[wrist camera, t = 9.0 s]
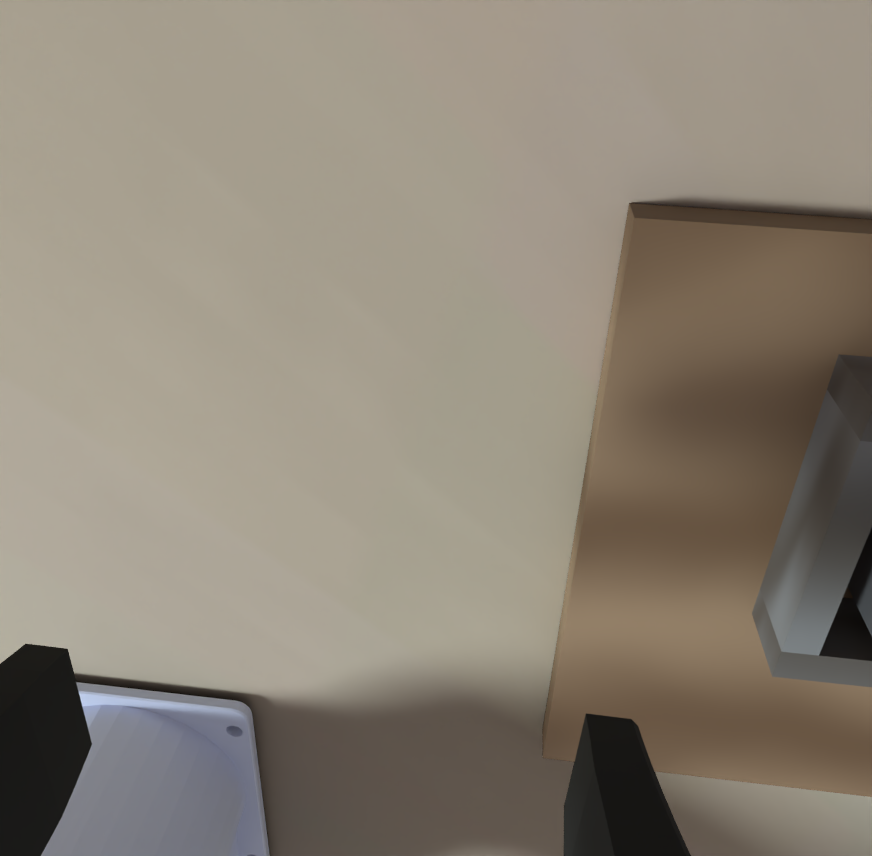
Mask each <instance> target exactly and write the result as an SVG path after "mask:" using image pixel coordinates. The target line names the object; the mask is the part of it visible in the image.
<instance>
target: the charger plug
mask: <svg viewBox="0 0 872 856" xmlns="http://www.w3.org/2000/svg"><path fill="white" fill-rule="evenodd" d="M848 589H849V591H850V593H851V595H852V597H853V599H854V601H855V603H856V605H857V607H858V609H859V611H860V613H861V615H862V617H863V620H864V622H865V624H866V626H867V628H868V630H869V632H870V634H871V636H872V528H871V530H870V533H869V535H868V537H867V540H866V542H865V545H864V547H863V550H862V552H861V554H860V557H859V559H858V562H857V564H856V567H855V569H854V571H853V574H852V576H851V579H850V581H849V584H848Z"/></svg>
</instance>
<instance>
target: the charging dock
mask: <svg viewBox="0 0 872 856" xmlns="http://www.w3.org/2000/svg"><path fill="white" fill-rule="evenodd" d="M871 528H872V219H857V218H842V217H827V216H812V215H798V214H783V213H768V212H753V211H738V210H723V209H708V208H694V207H679V206H664V205H649V204H634V203H629V208H628V214H627V220H626V226H625V232H624V238H623V244H622V250H621V256H620V262H619V268H618V274H617V281H616V287H615V293H614V299H613V305H612V311H611V317H610V323H609V329H608V335H607V341H606V347H605V353H604V359H603V365H602V372H601V378H600V384H599V390H598V396H597V402H596V408H595V414H594V420H593V426H592V432H591V438H590V444H589V450H588V456H587V463H586V469H585V475H584V481H583V487H582V493H581V499H580V505H579V511H578V517H577V523H576V529H575V535H574V541H573V547H572V554H571V560H570V566H569V572H568V578H567V584H566V590H565V596H564V602H563V608H562V614H561V620H560V626H559V632H558V638H557V645H556V651H555V657H554V663H553V669H552V675H551V681H550V687H549V693H548V699H547V705H546V711H545V717H544V723H543V758H547V759H555V760H564V761H572V762H575V758H576V753H577V749H578V745H579V741H580V736H581V732H582V728H583V723H584V719H585V715H586V713H587V714H595V715H603V716H611V717H619V718H627V719H632V720H633V721H634V722H635V723H636V724H637V725H638V727H639V730H640V733H641V736H642V739H643V742H644V745H645V747H646V750H647V753H648V756H649V758H650V761H651V764H652V766H653V769H654V771H657V772H665V773H674V774H682V775H691V776H699V777H708V778H716V779H725V780H733V781H742V782H750V783H759V784H767V785H776V786H784V787H793V788H801V789H809V790H818V791H826V792H835V793H843V794H852V795H860V796H869V797H872V636H871V634H870V632H869V630H868V628H867V626H866V624H865V622H864V620H863V617H862V615H861V613H860V611H859V609H858V607H857V605H856V603H855V601H854V599H853V597H852V595H851V593H850V591H849V589H848V584H849V581H850V579H851V576H852V574H853V571H854V569H855V567H856V564H857V562H858V559H859V557H860V554H861V552H862V550H863V547H864V545H865V542H866V540H867V537H868V535H869V533H870V530H871Z"/></svg>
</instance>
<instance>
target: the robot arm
mask: <svg viewBox="0 0 872 856" xmlns="http://www.w3.org/2000/svg"><path fill="white" fill-rule="evenodd" d="M0 856H270V854H269V846H268V838H267V830H266V822H265V814H264V805H263V797H262V789H261V781H260V773H259V765H258V757H257V749H256V741H255V733H254V725H253V717H252V712H251V710H250V708H249V707H248V706H247V705H246V704H244V703H242V702H240V701H236V700H227V699H218V698H210V697H201V696H192V695H184V694H175V693H167V692H158V691H149V690H141V689H132V688H123V687H115V686H106V685H98V684H89V683H80V682H76V680H75V676H74V672H73V668H72V664H71V660H70V656H69V652H68V649H64V648H56V647H48V646H40V645H32V644H25V645H24V646H22V647H21V648H20V649H19V650H17V651H16V652H15V653H14V654H12V655H11V656H10V657H8V658H7V659H6V660H5V661H3V662H2V663H1V664H0ZM564 856H691V855H690V853H689V851H688V849H687V847H686V845H685V842H684V840H683V838H682V836H681V834H680V831H679V829H678V827H677V825H676V822H675V820H674V818H673V815H672V813H671V811H670V808H669V806H668V803H667V801H666V799H665V796H664V794H663V792H662V789H661V787H660V784H659V782H658V779H657V777H656V774H655V772H654V769H653V766H652V764H651V761H650V758H649V756H648V753H647V750H646V747H645V745H644V742H643V739H642V736H641V733H640V730H639V727H638V725H637V724H636V723H635V722H634V721H633V720H632V719H627V718H619V717H611V716H603V715H595V714H587V713H586V715H585V719H584V723H583V728H582V732H581V736H580V741H579V745H578V749H577V753H576V758H575V762H574V766H573V771H572V775H571V779H570V783H569V788H568V792H567V796H566V801H565V805H564Z"/></svg>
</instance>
